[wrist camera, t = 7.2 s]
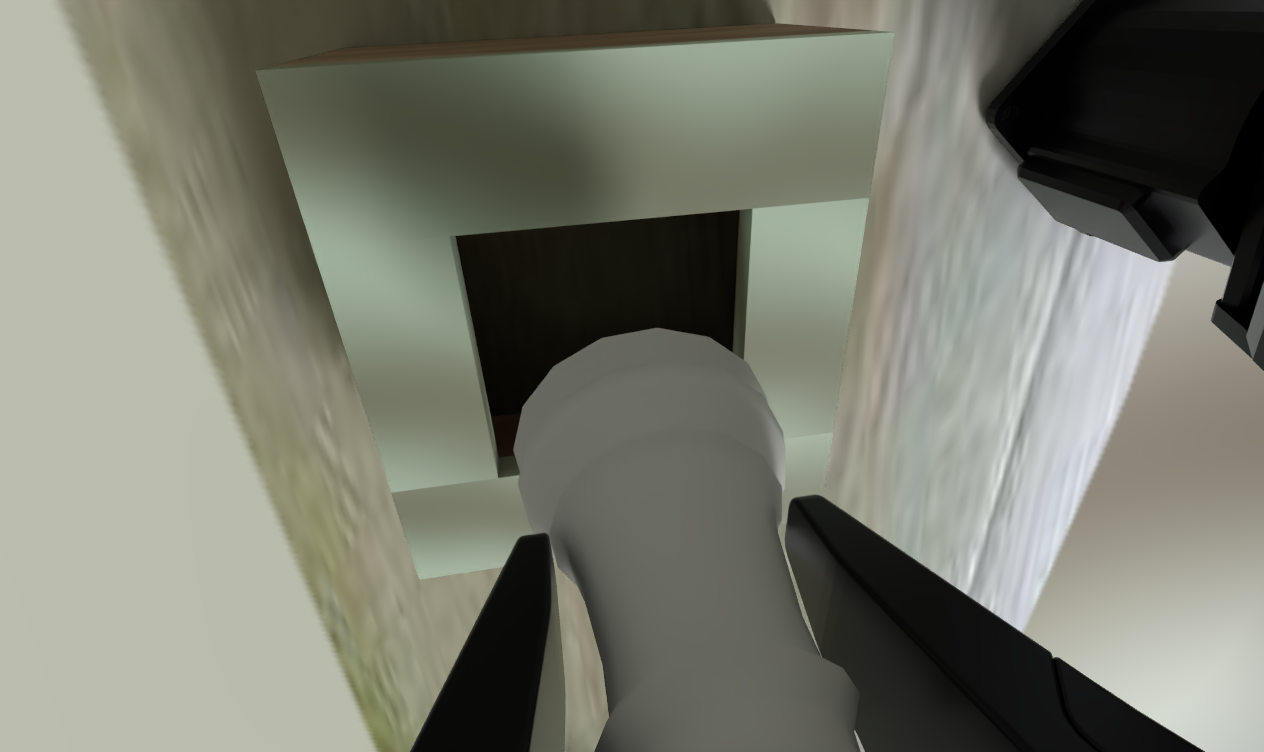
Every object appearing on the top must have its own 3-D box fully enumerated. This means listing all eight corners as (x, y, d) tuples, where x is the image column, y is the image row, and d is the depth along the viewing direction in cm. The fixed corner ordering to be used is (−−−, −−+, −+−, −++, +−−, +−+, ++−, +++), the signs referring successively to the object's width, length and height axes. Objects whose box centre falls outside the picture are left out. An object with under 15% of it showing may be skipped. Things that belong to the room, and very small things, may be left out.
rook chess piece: (458, 434, 11) (351, 1201, 4) (656, 259, 10) (997, 893, 3) (629, 554, 13) (755, 1186, 6) (806, 422, 12) (1207, 1006, 5)
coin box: (342, 48, 15) (255, 70, 10) (777, 23, 16) (894, 32, 11) (441, 442, 21) (419, 579, 16) (751, 402, 23) (819, 518, 18)
